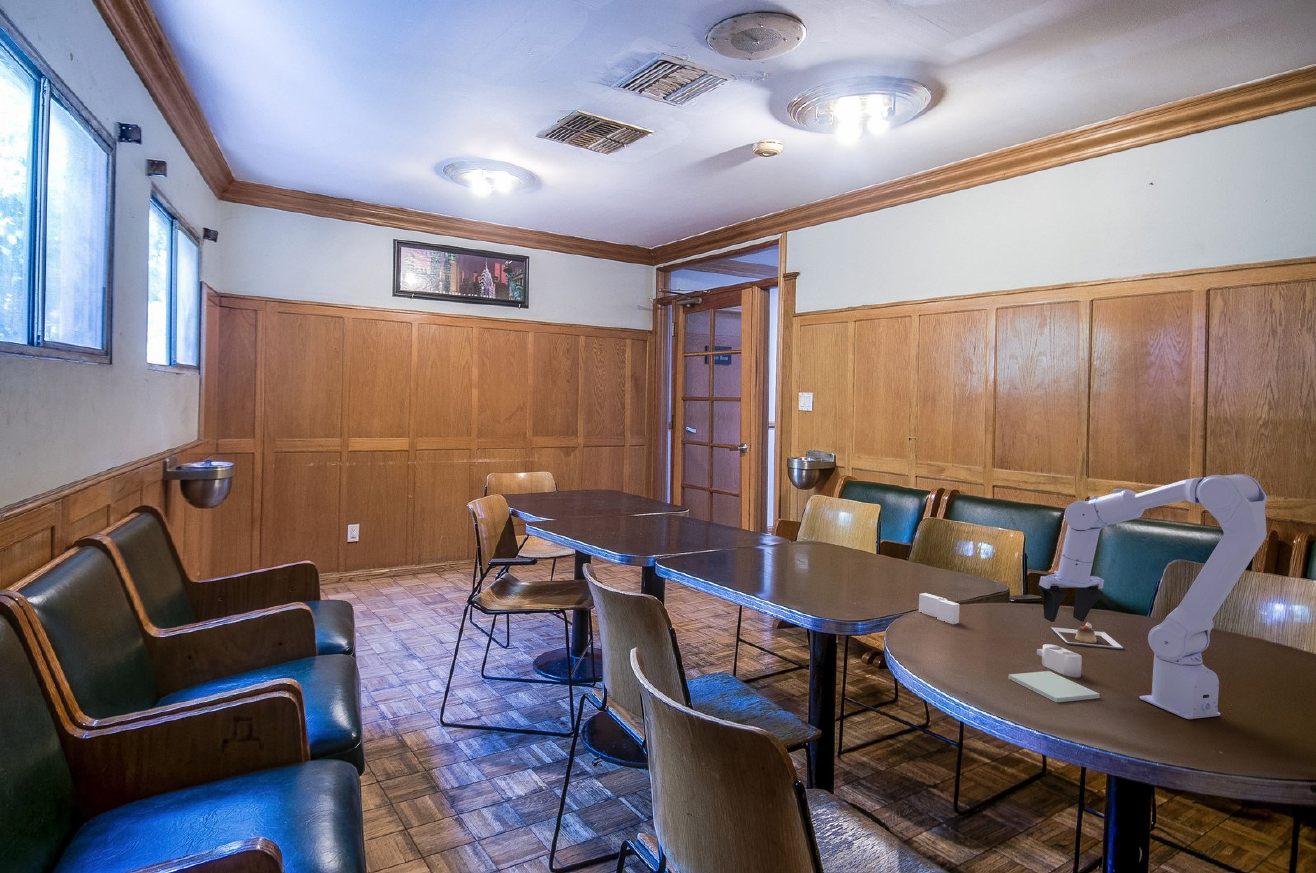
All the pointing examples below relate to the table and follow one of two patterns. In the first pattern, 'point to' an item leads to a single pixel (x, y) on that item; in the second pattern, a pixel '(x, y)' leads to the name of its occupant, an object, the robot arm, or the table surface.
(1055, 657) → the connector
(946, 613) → the white upright tiles
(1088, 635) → the dessert
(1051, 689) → the sage pad
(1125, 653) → the table surface
